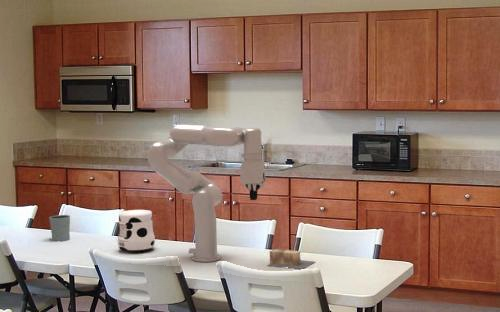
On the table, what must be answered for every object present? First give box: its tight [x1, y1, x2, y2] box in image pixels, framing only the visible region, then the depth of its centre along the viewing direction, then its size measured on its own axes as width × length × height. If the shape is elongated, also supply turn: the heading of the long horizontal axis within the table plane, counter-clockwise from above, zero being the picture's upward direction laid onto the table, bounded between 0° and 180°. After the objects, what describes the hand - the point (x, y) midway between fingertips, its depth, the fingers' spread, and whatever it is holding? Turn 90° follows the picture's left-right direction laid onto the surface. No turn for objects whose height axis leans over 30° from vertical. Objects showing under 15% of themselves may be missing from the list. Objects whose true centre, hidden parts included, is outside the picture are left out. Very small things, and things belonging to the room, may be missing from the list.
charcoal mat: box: [266, 259, 316, 270], centre depth 321 cm, size 16×14×1 cm
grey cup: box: [48, 214, 71, 242], centre depth 383 cm, size 10×10×12 cm
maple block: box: [269, 248, 301, 265], centre depth 322 cm, size 5×5×12 cm
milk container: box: [117, 209, 156, 253], centre depth 354 cm, size 17×17×18 cm
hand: (253, 199), depth 324 cm, fingers closed
